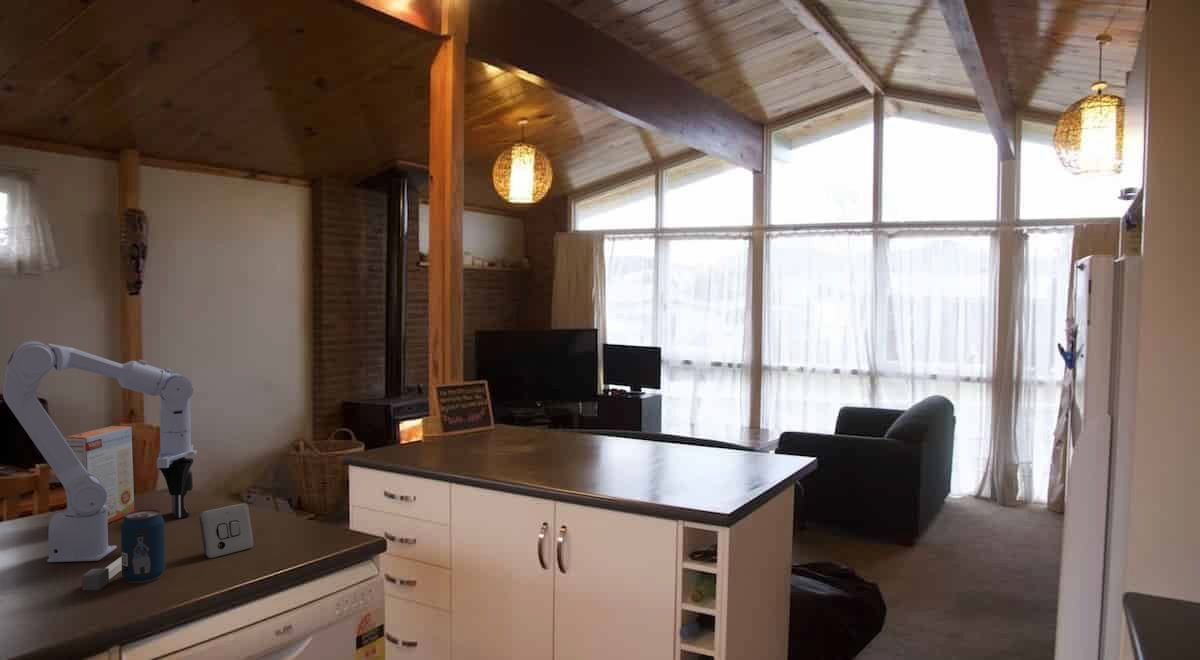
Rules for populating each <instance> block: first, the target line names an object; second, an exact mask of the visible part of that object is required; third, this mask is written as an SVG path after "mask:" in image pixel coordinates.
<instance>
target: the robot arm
mask: <svg viewBox="0 0 1200 660" xmlns="http://www.w3.org/2000/svg"><path fill="white" fill-rule="evenodd" d="M53 368H54V369H55V370H56V371H62V370H68V369H73V368H74V369H78V370H82V371H87V372H90V373H93V374H97V375H102V376H104V377H105V376H106V377H108V378H109V377H110V378H113V379H116V380H117V382H118V385H119V386H120V387H121V388H123V389H127V390H131V391H134V392H138V393H141V394H146V395H149V396H152V397H157V396H159V397H160V408H159V435H160V436H159V438H160V439H159V440H160V441H159V444H160V445H159V447H160V448H159V453H158V458H156V468H157V469H159V471H161V473H162V475H163V477H164V479H165V483H166V486H167V489H168V492H169V495H170V496H172V495H181V494H183V491H184V487H185V482H186V478H187V474H188V472H189V469H190V470H191V466H192V465H193V463H194V458H189V457H188V456H195V455H196V454H198V450H196V449H194V444H191V443H192V434H191V433H192V432H191V431H192V430H191V429H192V427H191V425H192V422H191V421H192V420H191V417H192V415H191V414H192V413H191V407H190V406H191V405H190V404H191V400H190V398H191V397H192V395H193V394H194V389H195V388H194V387H193V385H192V382H191V380H190V379H189V378H187V377H185V376H184V375H182V374H179V373H178V372H175V371H172V370H171V369H170V368H165V367H164V369H163V368H159V367H156V366H152V365H149V364H147V361H146V360H143V359H138V361H137V360H130V361H128V362H127V361H126V362H125V363H119V362H116V361H114V360H110V359H107V358H104V357H102V356H99V355H95V354H92V353H90V352H89V353H88V352H86V351H84V350H80V349H77V348H74V347H71V346H66V345H65V346H64V345H59V344H54V343H48V345H47V344H45V343H44V342H41V341H38V340H34V339H33V340H26V341H23V342H20V343H19V344H18V345H16V346H15V348H14V349H13V351H12V352H11V354H10V356H9V357H8V360H7V362H6V369H5V377H4V385H3V390H2V391H3V393H2V397H3V400H4V402H5V403H6V405H7V407H8V408H9V409H10V411H11V412H12V413H13V414H14V416H15V418H16V419H17V421H18V422H19V424H20V425H21V427H23V429H24V431H25V432H26V433H27V435H28V437H29V438H30V440H31V441H32V442H33V444H34V445H35V446H36V448H37V449H38V451H39V452H40V454H41V455H42V457H43V458H44V460H45V461H46V463H48V465H49V466H50V468H51V470H52V471H53V472H54V474H55V475H56V477H57V479H58V480H59V482H60V483H61V484H62V487H63V488H64V493H65V494H64V495H65V498H66V500H67V499H68V500H69V506H68V507H67V506H66V509H64V511H61V512H60V511H59V512H56V513H54V514H53V515H52V517H50V521H49V524H48V559H46V562H47V563H64V562H65V563H66V562H67V563H69V562H70V563H71V562H94V561H95V562H96V561H97V562H98V561H100V560H101V559H103V558H105V557H106V556H108V555H109V554H110V553H112V552H113V551H114V550H116V549H117V547H118V545H109V533H108V532H109V531H108V529H109V525H108V524H109V523H108V517H107V506H106V505H104V504H105V502H106V499H107V493H106V490H105V489H104V487H103V486H102V485H101V482H100V480H99V479H98V478H97V477H96V476H94V475H92V474H90V473H88V472H87V471H86V469H85V468H84V466H83V465H82V464H81V462H80V461H79V459H78V458H77V457H76V455H75V454H74V452H73V451H72V449H71V448H70V446H69V445H68V443H67V442H66V440H65V439H64V438H65V437H64V436H63V435H62V433H61V431H60V430H59V429H58V427H57V426H56V424H55V423H54V420H52V418H51V417H50V415H49V414H48V412H47V411H46V409H45V408H44V407H43V405H42V403H41V402H40V400H39V399H38V398H37V396H36V394H37V391H38V389H39V387H40V384H41V381H42V380H43V379H44V378H45V377H46V376H47V375H48V373H49V372H50V371H51V370H52V369H53ZM187 457H188V458H187Z"/></svg>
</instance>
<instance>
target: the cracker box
mask: <svg viewBox="0 0 1200 660" xmlns="http://www.w3.org/2000/svg"><path fill="white" fill-rule="evenodd" d="M132 433H133V431H132V426H123V425H120V426H119V425H111V426H107V427H101V428H98V429H93V430H89V431H84V432H81V433H77V434H73V435H72V434H71V435H68V436H65V437H64V439H65V440H66V442H67V443H68V445H69V446H70V448H71V449H72V451H73V452H74V454H75V455H76V457H77V458H78V459H79V461H80V462H81V464H82V465H83V466H84V468H85V469H86V471H87V472H88V473H90V474H92V475H94V476H96V477H97V478H98V479H99V480H100V482H101V485H102V486H103V487H104V489H105V490H106V493H107V499H106V502H105V504H104V505H106V506H107V517H108V524H109V523H111V522H112V523H113V522H115V521H117V520H120V519H123V518H125V515H126V514H128V513H130V512H134V511H135V492H134V468H133V467H134V464H133V463H134V462H133V461H134V460H133V435H132ZM68 506H69V500H68V499H67V498H66V508H67V507H68Z"/></svg>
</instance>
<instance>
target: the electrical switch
mask: <svg viewBox="0 0 1200 660" xmlns="http://www.w3.org/2000/svg"><path fill="white" fill-rule="evenodd" d="M198 519H199V526H200V533H201V538H202V539H201V540H202V545H203V553H204V555H206V557H207V558H209V559H212V558H217V557H220V556H225V555H228V554H232V553H236V552H240V551H245V550H248V549H251V548H253V546H254V538H253V530H252V524H251V518H250V511H249V505H248V504H247V503H239V504H234V505H228V506H224V507H223V506H222V507H220V508H215V509H208V510H204V511H202V512H201V514H200V516H199V517H198Z"/></svg>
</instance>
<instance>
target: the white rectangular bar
mask: <svg viewBox="0 0 1200 660" xmlns="http://www.w3.org/2000/svg"><path fill="white" fill-rule="evenodd" d="M119 572H122V555H121V556H120V557H118V558H117V559H116V560H115V561H113V562H111V563H110V564H109V565H107V566H106V567H104V568H103V567H102V568H90V570H88V571H87V572H85V573H84V574H83V575H82V576H81V589H82V590H81V591H99V590H101V589H102V588H104V587H105V586H106V585H108V584H109V583H110V579H112V578H113V577H114V576H115V575H117V574H118V573H119Z"/></svg>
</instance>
